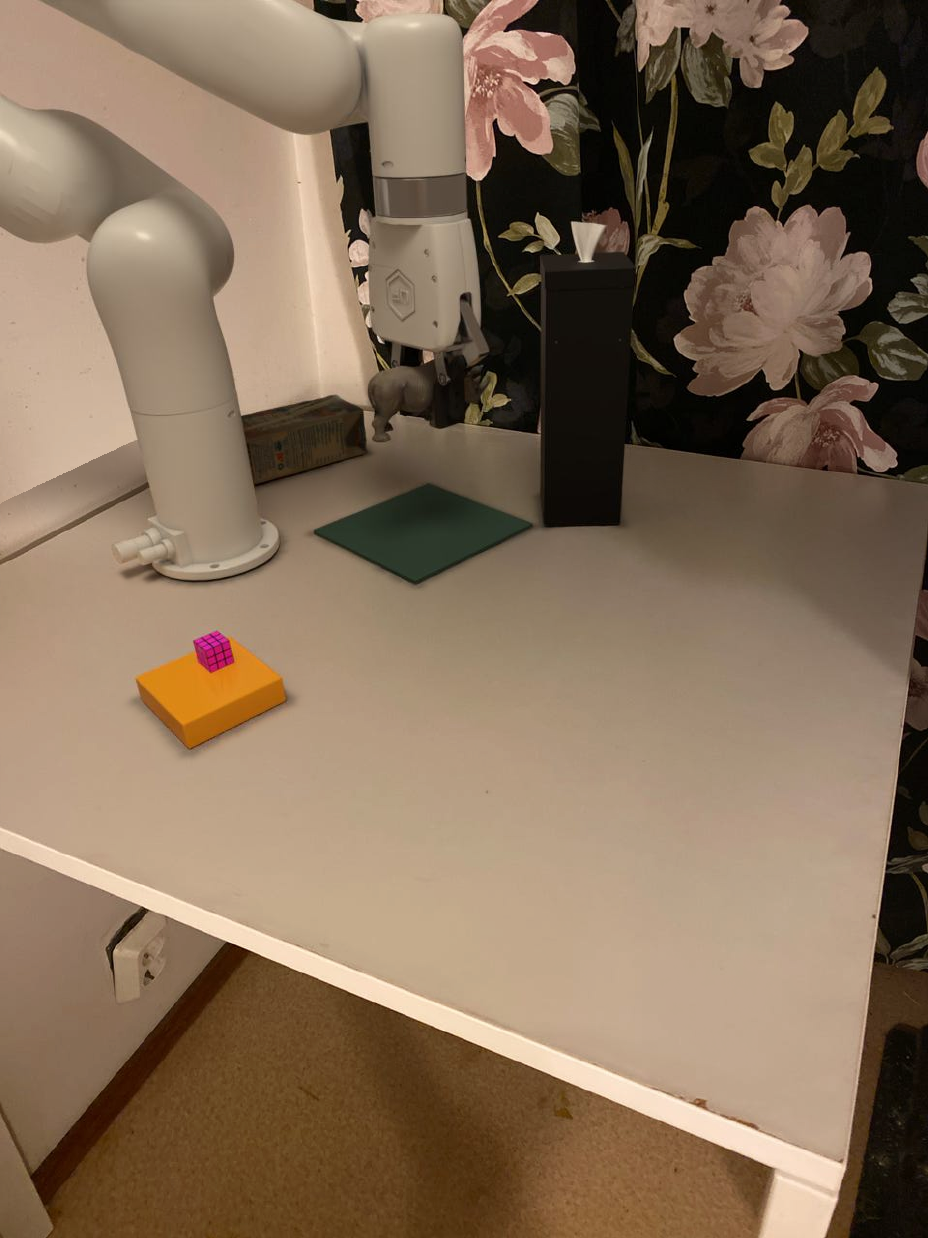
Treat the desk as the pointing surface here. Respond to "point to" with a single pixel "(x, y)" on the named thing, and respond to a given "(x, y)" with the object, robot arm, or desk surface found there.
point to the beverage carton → (303, 436)
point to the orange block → (210, 689)
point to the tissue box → (584, 380)
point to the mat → (422, 531)
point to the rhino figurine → (412, 394)
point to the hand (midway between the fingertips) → (432, 416)
